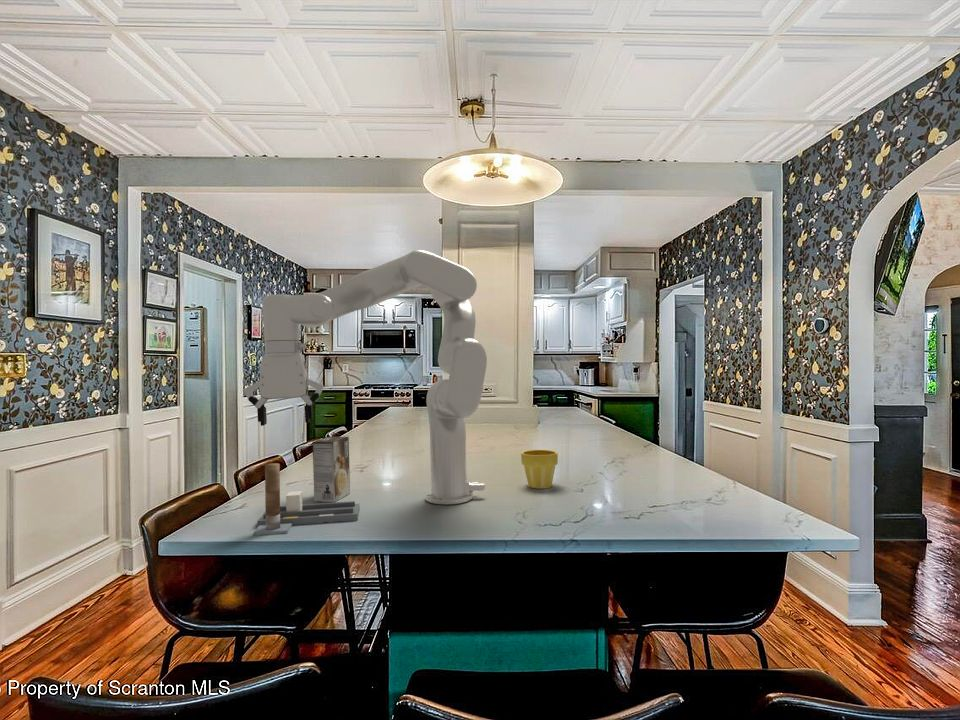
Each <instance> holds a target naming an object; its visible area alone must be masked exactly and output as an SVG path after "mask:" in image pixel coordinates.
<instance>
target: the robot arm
mask: <svg viewBox="0 0 960 720" xmlns="http://www.w3.org/2000/svg"><path fill="white" fill-rule="evenodd" d="M420 286H425V287H426V288H428V289H430V294H431V297H432V298H433V300H434V301H435V302H436V303H437V304H438V306H439V308H440V309H441V311H442V314H443V327H442V335H441V339H440V344H439V350H438V355H437V363H438V366H439V368H440V370H441V371H442V372H444V373H445V374H447V375H449V376H448V378H447V379H446V378H445V379H440V380H437V381H435V382H434V383H432V385H431V386H430V387H429V389H428V391H427V394H426V399H425V402H426V410H427V415H428V422H429V449H430V451H429V453H430V454H429V455H430V491H428V492H426V493H425V496H424V499H425V501H426V502H428V503H431V504H436V505H458V504H459V505H460V504H463V503H466V502H470V501H471V500H472V499H473V498H474V493H473V492H474V491H478V492H479V491H480V492H482V491H485V489H486V488H485V482H478V481H475V482H474V481H473V482H471V481H469V480H468V477H467V476H468V475H467V431H466V430H467V429H466V423H465V419H467V418H469V417H472V416H473V414H475V412H476V411H477V409H478V408H479V405H480V402H481V399H482V393H483V389H484V382H485V376H486V373H487V372H486V371H487V366H488V365H487V363H488V361H487V360H488V357H487V351H486V349H485V348H484V346H483V345H482V344H481V342H480V341H478V340H476V339H474V338H475V333H476V332H475V331H476V322H477V321H476V312H475V311H474V307H473V305H472V303H471V301H470V299H471V298H472V297H473V296H474V295H475V293H476V291H477V288H478V287H477V286H478V284H477V279H476V277H475V275H474V274H473V273H472V272H471V271H470V270H469V269H468V268H467V267H465V266H462V265H460V264H458V263H455V262H453V261H450V260H448V259H446V258H444V257H441V256H439V255H436V254H435V253H432V252H429V251H427V250H422V249H416V250H412V251H411V252H408V253H406V254H405V255H403V256H400V257H398V258H395V259H393V260H390V261H388V262H386V263H382V264H380V265H377V266H374V267H373V268H370V269H367V270H365V271H361V272H360V273H357V274H356V275H354V276H351V278H349V279H347V280H345V281H343V282H342V283H340V284H339V283H338V284H337V285H335V286H333V287H331V288H328V289H325V290H322V291H320V292H318V293H316V292H315V293H314V292H313V293H308V294H307V293H306V294H298V295H291V294H285V293H284V294H282V293H281V294H280V293H279V294H269V295H265V296H264V298H263V299H262V318H263V339H264V355H262V356H261V360H260V366H259V367H260V371H259V380H258V381H256V382H255V383H252V384H251V385H250V386H248V387H245V388H244V389H243V393H244V395H245V396H246V398H247V400H248V401H249V402H250V403H251V404H252V405H253V406H254V407H255V408H256V409H257V411H256V412H257V422H259V423H260V426H261V427H263V426H265V425H267V423H268V421H267V407H266V406H265V404H266V403H267V402H268V400H278V399H279V400H280V399H297V398H298V399H299V398H301V400H303V402H304V403H305V405H304V423H306V424H309V423H310V422H311V419H313V417H314V416H313V415H314V414H313V403H315V402H316V401H317V400H318V398H319V397H320V396H321V394H322V392H323V390H324V388H325V387H324V384H321V383H319V382H318V381H315V380H313V379H310V378H309V377H308V370H307V368H308V367H307V364H306V359H305V355H304V354H301V351H303V350H306V349H307V343H306V342H301V340H300V327H299V325H301V326H303V327H304V328H309V329H313V328H317V327H322V326H324V325H326V324H328V323H329V322H331V321H333V320H335V319H338V318H340V317H343V316H345V315H347V314H350V313H354V312H356V311H360V310H364V309H369V308H370V307H373V306H375V305H378V304H381V303H382V302H386V301H387V300H390V299H392V298H394V297H397V296H399V295H401V294H404V293H407V292H408V291H411V290H413V289H416V288H418V287H420ZM309 386H310V387H312V388H314V389H315V392H314V393H313V395H312V396H310V395H309ZM257 389H259V395H260V398H259V399H258V398H257V397H256V396H255V395H254V391H256V390H257Z"/></svg>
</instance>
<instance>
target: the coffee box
mask: <svg viewBox="0 0 960 720" xmlns="http://www.w3.org/2000/svg"><path fill="white" fill-rule="evenodd" d="M349 439H350V436H327V437H323V438H320V439H317V440H314V441H312V442H311V443H312V445H311V446H312V468H313V469H312V470H313V471H312V472H313V476H312V477H313V501H314V502H317V501H322V502H323V503H334V502H338V501H339V500H341V499H342V498H344V497H346V496H349V495H350V494H351V479H350V478H351V475H350V473H351V471H350V445H349V444H350V441H349ZM322 502H321V503H322Z"/></svg>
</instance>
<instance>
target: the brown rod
mask: <svg viewBox="0 0 960 720" xmlns="http://www.w3.org/2000/svg"><path fill="white" fill-rule="evenodd" d="M280 467H281V465H280V463H275V462H274V463H273V462H272V463H266V464H264V478H265V479H264V480H265V481H264V484H265V486H264V489H265V490H264V491H265V496H264V497H265V498H264V501H265V511H266V530H275V529H278V528H280V506H281V482H280V481H281V480H280V479H281V478H280V475H281V473H280V470H281V468H280Z"/></svg>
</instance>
